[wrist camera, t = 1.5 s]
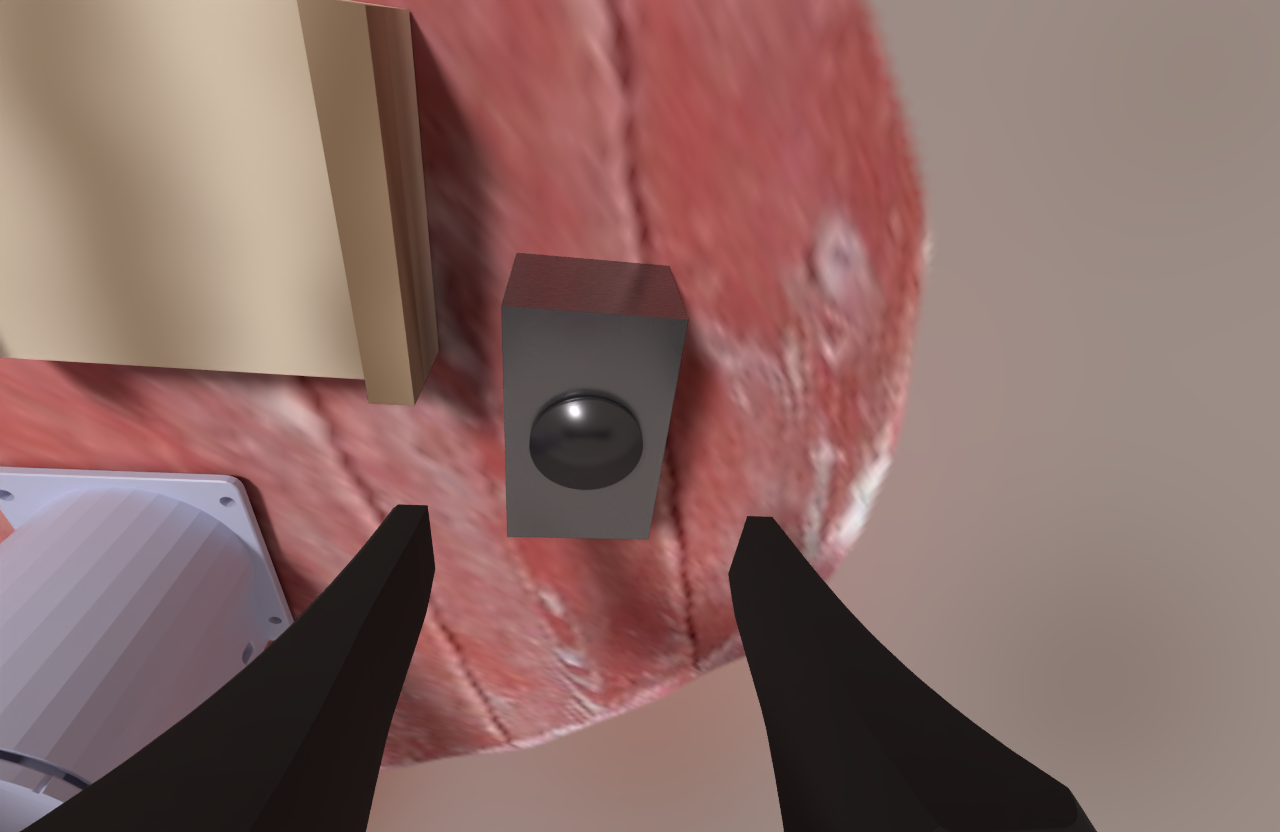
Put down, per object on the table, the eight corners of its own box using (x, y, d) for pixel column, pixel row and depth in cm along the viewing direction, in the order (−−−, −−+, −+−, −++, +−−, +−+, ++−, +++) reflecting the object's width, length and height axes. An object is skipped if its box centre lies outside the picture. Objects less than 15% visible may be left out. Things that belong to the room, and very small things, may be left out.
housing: (638, 462, 22) (649, 546, 18) (518, 457, 21) (506, 543, 18) (668, 263, 17) (690, 325, 14) (517, 250, 17) (499, 311, 13)
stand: (409, 9, 13) (365, 5, 10) (438, 350, 18) (414, 405, 15) (-237, -89, 11) (-487, -125, 9) (-3, 320, 16) (-114, 376, 14)
